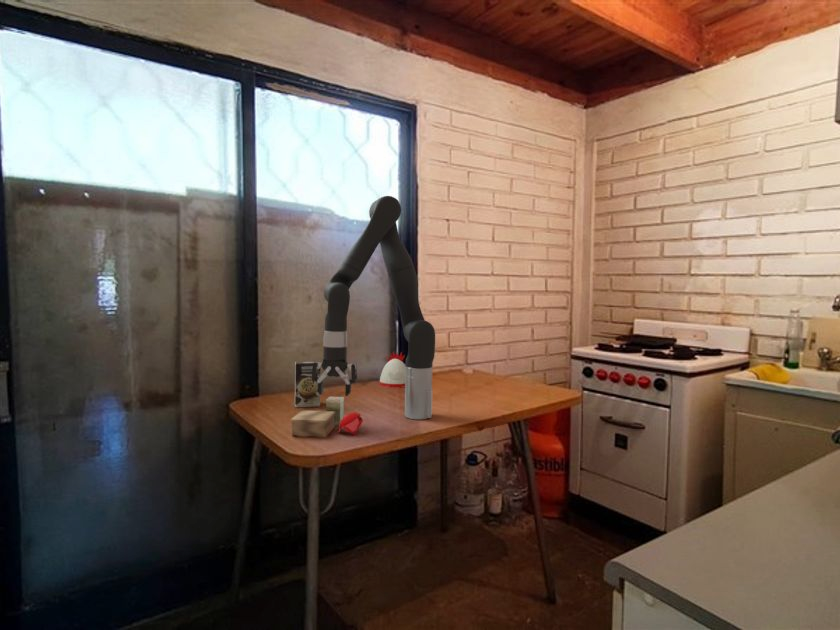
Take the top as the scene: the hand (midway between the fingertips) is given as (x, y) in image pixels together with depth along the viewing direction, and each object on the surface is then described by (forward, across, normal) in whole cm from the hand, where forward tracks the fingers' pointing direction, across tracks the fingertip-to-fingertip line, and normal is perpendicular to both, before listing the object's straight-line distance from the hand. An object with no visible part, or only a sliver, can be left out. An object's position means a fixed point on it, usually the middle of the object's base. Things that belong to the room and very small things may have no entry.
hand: (334, 394), depth 159 cm
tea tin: (+9, 0, 0) cm, 9 cm away
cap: (+9, -8, +9) cm, 15 cm away
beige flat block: (+9, +4, +10) cm, 14 cm away
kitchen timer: (+9, -11, -65) cm, 67 cm away
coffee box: (+10, +16, -22) cm, 29 cm away
